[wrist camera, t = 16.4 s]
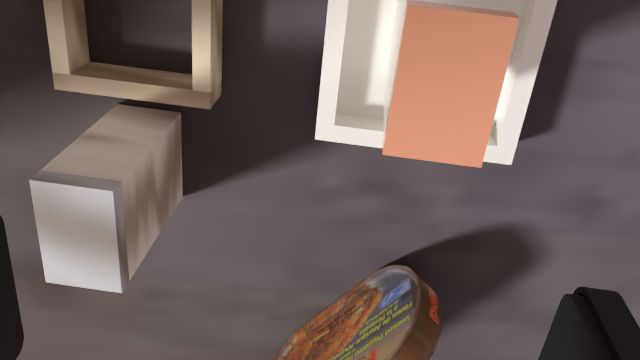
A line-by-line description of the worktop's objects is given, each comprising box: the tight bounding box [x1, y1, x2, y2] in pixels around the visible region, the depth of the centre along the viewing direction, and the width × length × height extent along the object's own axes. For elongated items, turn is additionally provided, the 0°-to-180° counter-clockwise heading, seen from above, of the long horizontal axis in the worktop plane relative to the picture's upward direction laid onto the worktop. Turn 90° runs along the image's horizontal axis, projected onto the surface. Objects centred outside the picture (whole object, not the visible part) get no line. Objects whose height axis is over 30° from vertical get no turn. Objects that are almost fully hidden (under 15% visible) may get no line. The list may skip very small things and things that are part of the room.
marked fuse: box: [383, 0, 520, 168], centre depth 27 cm, size 6×4×10 cm, turn 174°
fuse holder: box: [29, 0, 223, 293], centre depth 28 cm, size 26×9×10 cm, turn 175°
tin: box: [274, 265, 442, 360], centre depth 38 cm, size 15×3×8 cm, turn 136°
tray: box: [315, 0, 557, 165], centre depth 31 cm, size 13×11×2 cm
